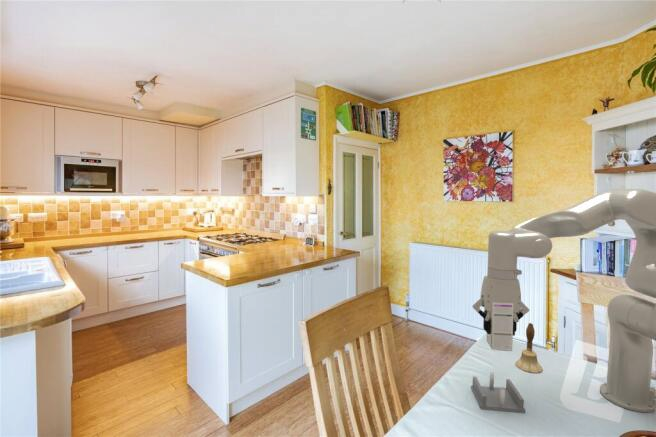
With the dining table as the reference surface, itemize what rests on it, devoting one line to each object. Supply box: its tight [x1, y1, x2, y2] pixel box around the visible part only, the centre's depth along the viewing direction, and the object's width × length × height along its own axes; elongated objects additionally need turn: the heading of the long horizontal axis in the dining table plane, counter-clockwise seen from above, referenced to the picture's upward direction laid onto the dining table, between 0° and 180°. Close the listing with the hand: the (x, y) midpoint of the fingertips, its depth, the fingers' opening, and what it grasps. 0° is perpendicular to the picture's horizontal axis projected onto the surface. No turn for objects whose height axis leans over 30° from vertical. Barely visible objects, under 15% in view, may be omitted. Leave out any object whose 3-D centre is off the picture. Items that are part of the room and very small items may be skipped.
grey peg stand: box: [470, 371, 526, 414], centre depth 98 cm, size 12×10×6 cm
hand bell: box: [515, 322, 543, 374], centre depth 115 cm, size 8×8×16 cm
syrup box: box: [486, 302, 514, 352], centre depth 96 cm, size 6×6×14 cm
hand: (499, 332), depth 96 cm, fingers closed on syrup box, 6 cm apart
